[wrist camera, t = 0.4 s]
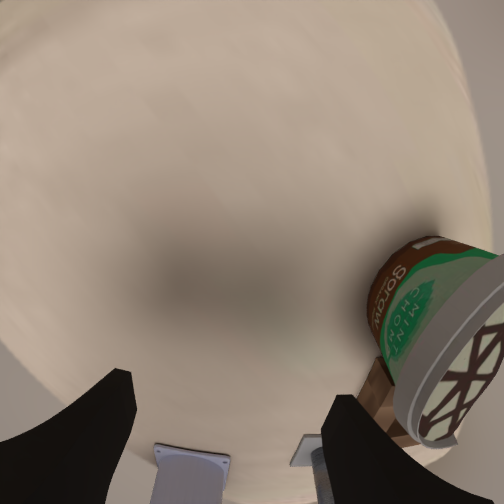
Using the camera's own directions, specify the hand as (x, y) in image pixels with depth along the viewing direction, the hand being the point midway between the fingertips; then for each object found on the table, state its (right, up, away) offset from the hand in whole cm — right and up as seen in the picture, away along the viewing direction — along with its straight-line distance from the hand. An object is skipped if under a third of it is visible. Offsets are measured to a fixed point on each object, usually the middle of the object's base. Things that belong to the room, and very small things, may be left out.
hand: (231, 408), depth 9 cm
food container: (+11, +2, +10) cm, 15 cm away
